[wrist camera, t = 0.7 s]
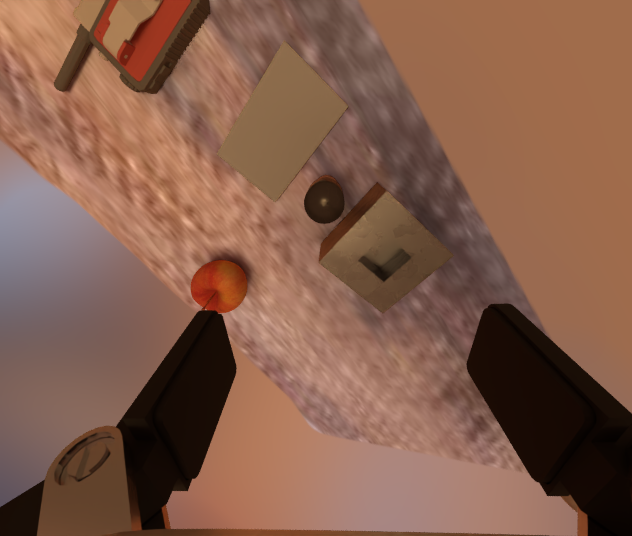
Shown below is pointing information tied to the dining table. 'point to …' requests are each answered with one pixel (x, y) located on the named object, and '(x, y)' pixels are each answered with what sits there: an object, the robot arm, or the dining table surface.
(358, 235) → the block
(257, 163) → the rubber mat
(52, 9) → the dining table surface
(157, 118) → the dining table surface
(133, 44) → the walkie-talkie
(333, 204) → the brown beige cylinder
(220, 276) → the apple
